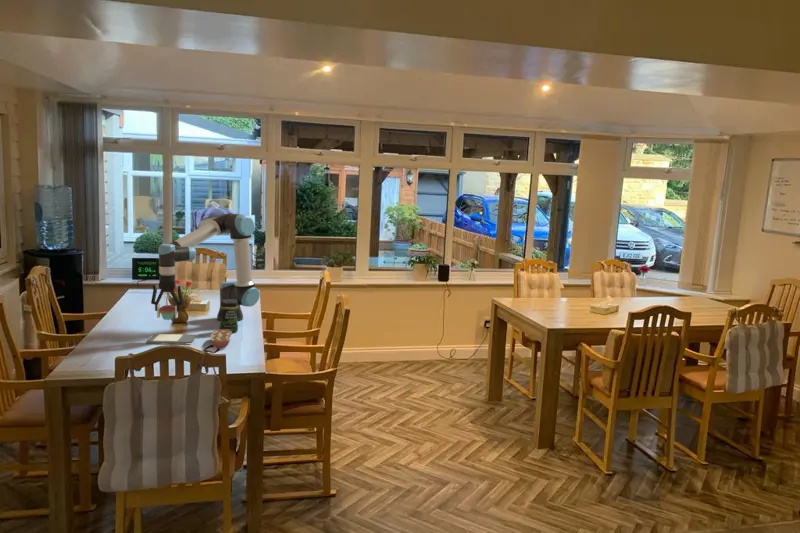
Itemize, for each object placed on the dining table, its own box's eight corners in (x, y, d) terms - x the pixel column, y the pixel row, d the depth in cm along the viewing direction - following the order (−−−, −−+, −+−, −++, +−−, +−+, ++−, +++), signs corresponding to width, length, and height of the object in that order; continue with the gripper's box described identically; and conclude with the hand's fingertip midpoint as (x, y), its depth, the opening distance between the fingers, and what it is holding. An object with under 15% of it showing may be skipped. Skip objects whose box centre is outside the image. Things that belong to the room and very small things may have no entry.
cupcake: (174, 320, 300) (174, 297, 299) (157, 320, 299) (156, 297, 297) (178, 316, 309) (177, 294, 307) (161, 316, 307) (160, 294, 306)
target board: (196, 336, 314) (196, 334, 314) (190, 344, 300) (190, 341, 300) (154, 336, 311) (153, 333, 311) (146, 343, 298) (145, 341, 297)
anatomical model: (229, 350, 294) (229, 341, 293) (208, 351, 291) (208, 341, 291) (232, 338, 316) (232, 329, 315) (212, 338, 314) (212, 329, 313)
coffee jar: (220, 334, 321) (220, 301, 319) (219, 330, 329) (219, 298, 326) (238, 333, 325) (238, 300, 322) (237, 329, 332) (237, 297, 330)
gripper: (143, 274, 295) (144, 318, 299) (186, 276, 298) (186, 319, 301) (147, 272, 303) (148, 315, 306) (190, 273, 305) (190, 316, 309)
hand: (167, 317), depth 304 cm, fingers closed on cupcake, 8 cm apart
